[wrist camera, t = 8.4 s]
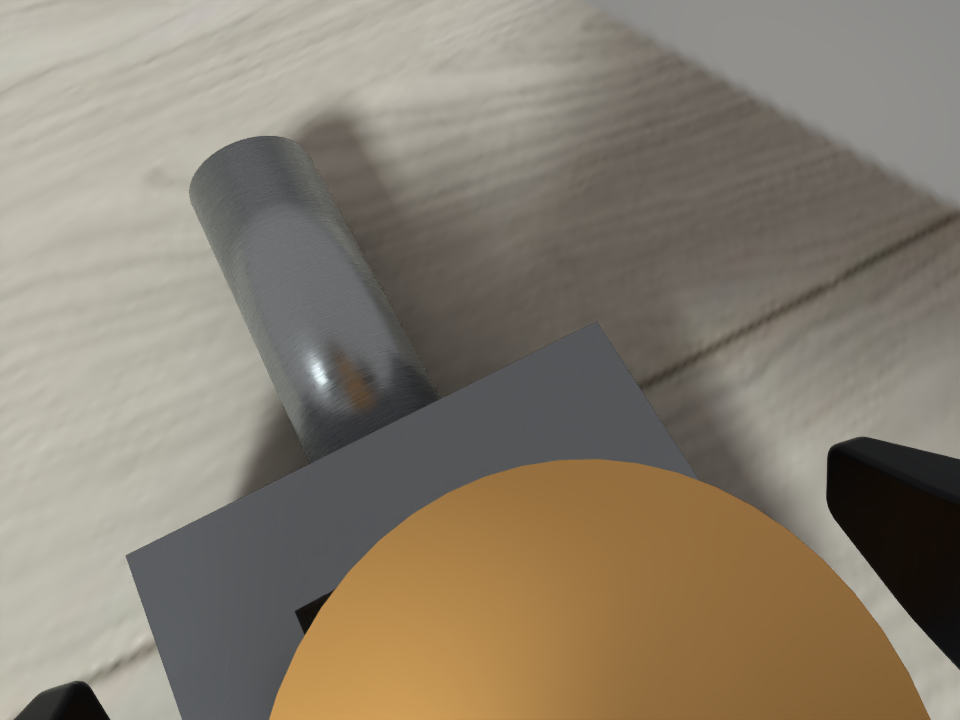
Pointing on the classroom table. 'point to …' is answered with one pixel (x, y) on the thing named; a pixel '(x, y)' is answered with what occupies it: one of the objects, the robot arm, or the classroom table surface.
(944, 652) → the robot arm
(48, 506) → the classroom table surface
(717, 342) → the classroom table surface
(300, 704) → the orange cylinder
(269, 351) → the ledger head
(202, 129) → the classroom table surface
